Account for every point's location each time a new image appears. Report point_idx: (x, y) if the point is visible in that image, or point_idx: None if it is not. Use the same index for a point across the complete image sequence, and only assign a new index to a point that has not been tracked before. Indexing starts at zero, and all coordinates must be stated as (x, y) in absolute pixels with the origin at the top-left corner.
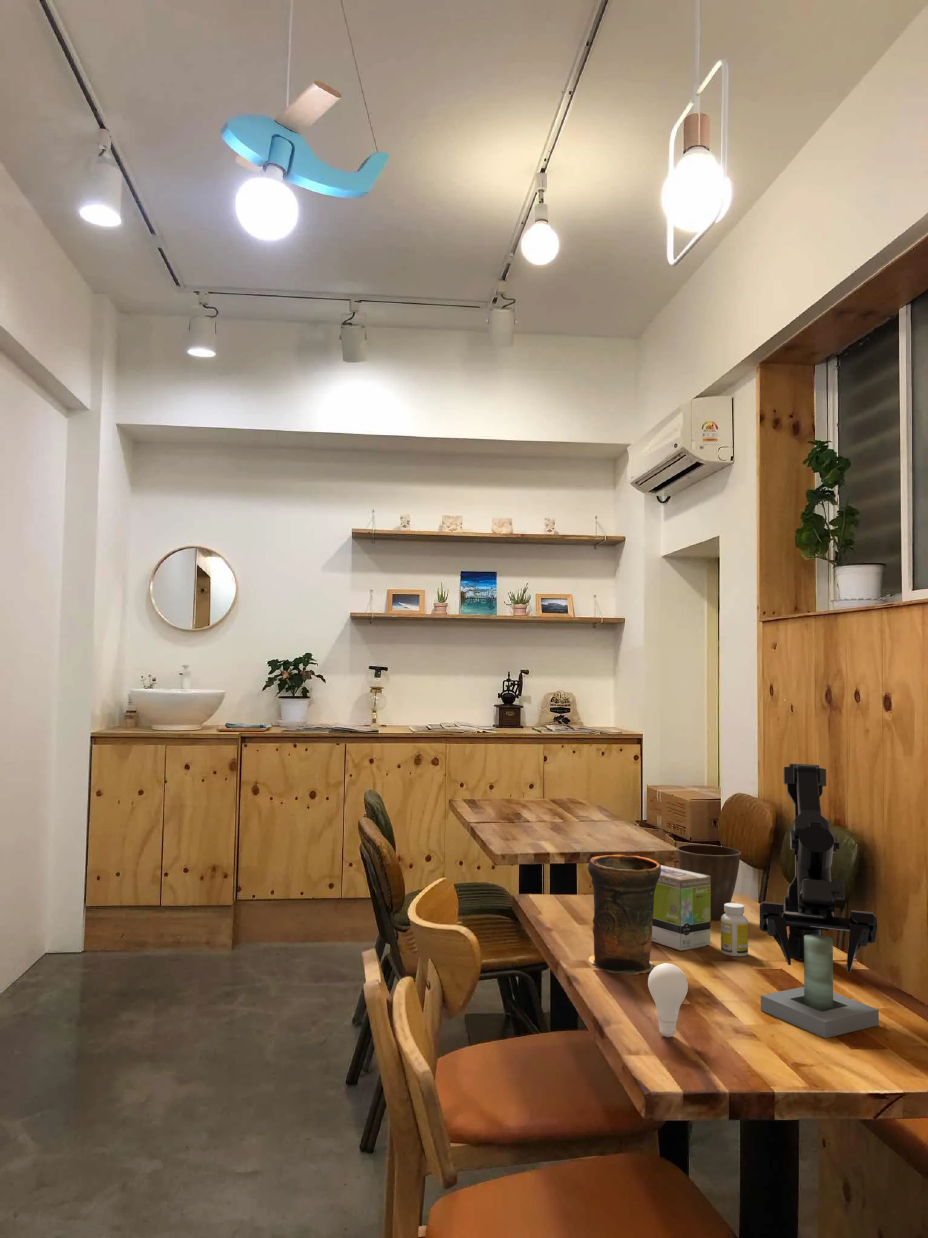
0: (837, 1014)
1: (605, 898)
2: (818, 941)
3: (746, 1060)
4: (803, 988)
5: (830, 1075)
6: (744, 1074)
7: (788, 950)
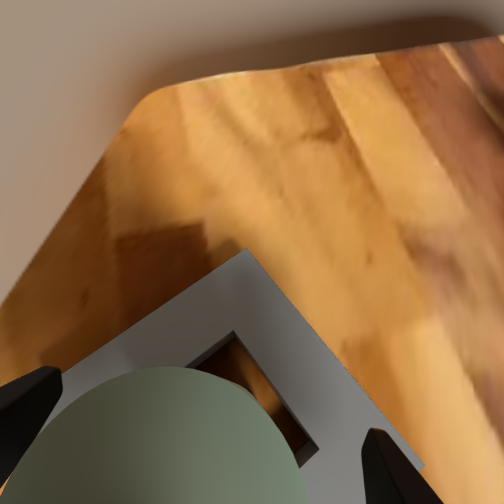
0: (189, 316)
1: None
2: (196, 372)
3: (420, 133)
4: None
5: (279, 107)
6: (419, 89)
7: (413, 494)
